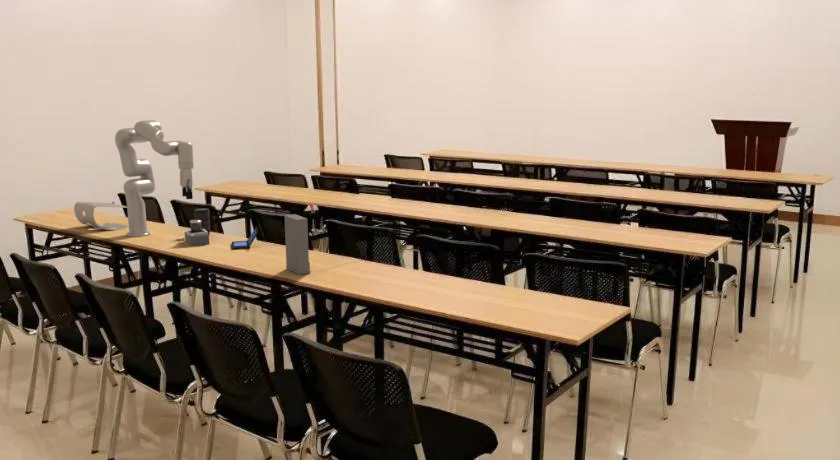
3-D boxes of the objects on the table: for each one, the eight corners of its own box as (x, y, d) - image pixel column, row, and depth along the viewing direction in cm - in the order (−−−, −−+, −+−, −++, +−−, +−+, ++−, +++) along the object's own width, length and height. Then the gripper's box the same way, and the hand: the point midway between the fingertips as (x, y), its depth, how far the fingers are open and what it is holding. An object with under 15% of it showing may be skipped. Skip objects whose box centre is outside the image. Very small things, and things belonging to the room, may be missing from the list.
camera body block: (185, 241, 390) (184, 229, 389) (203, 239, 395) (203, 228, 393) (190, 246, 378) (189, 234, 377) (209, 244, 382) (208, 232, 381)
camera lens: (213, 234, 409) (211, 208, 406) (207, 237, 401) (205, 210, 398) (199, 233, 409) (197, 207, 406) (193, 236, 401) (191, 210, 398)
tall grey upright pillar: (311, 273, 322) (309, 218, 317) (298, 275, 318) (296, 220, 313) (298, 267, 333) (296, 214, 328) (286, 268, 330) (284, 215, 325)
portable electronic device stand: (75, 227, 428) (72, 202, 425) (113, 222, 446) (111, 197, 443) (95, 233, 412) (93, 206, 409) (134, 227, 430) (132, 201, 427)
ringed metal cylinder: (189, 233, 386) (188, 220, 385) (200, 232, 389) (200, 219, 388) (191, 234, 381) (191, 222, 380) (203, 233, 384) (202, 221, 383)
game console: (231, 244, 383) (230, 227, 382) (257, 242, 387) (257, 226, 385) (231, 250, 369) (230, 233, 367) (258, 248, 372) (258, 231, 370)
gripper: (175, 164, 384) (177, 195, 388) (181, 167, 370) (183, 200, 373) (189, 163, 388) (191, 194, 391) (196, 167, 373) (198, 199, 377)
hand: (187, 197), depth 382 cm, fingers open, 9 cm apart
